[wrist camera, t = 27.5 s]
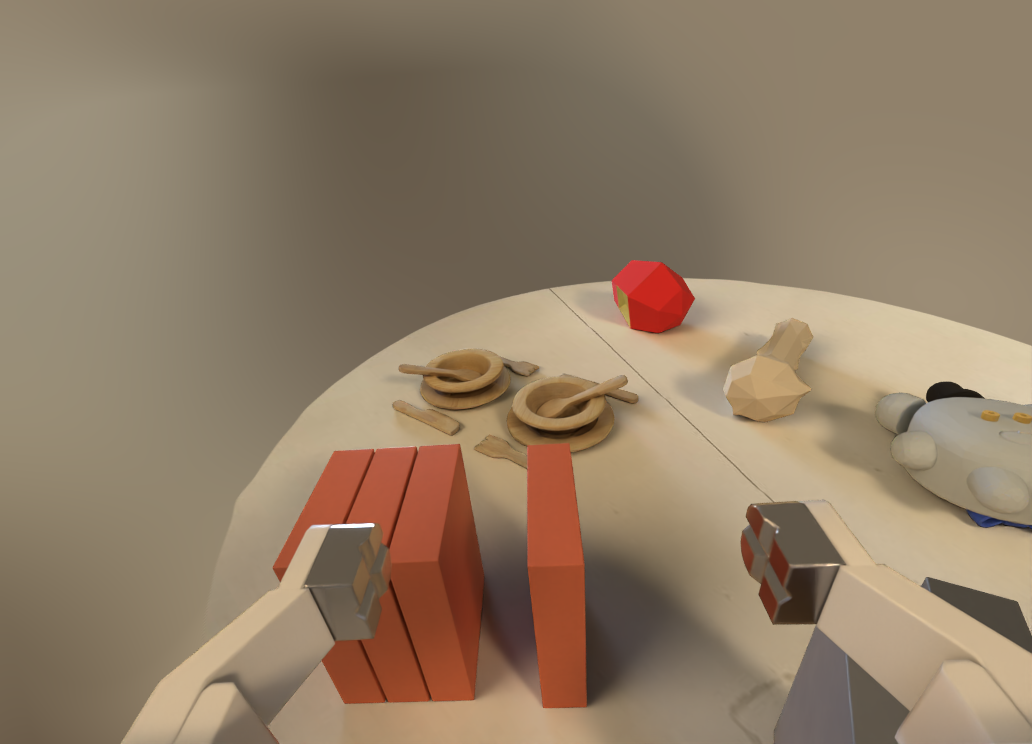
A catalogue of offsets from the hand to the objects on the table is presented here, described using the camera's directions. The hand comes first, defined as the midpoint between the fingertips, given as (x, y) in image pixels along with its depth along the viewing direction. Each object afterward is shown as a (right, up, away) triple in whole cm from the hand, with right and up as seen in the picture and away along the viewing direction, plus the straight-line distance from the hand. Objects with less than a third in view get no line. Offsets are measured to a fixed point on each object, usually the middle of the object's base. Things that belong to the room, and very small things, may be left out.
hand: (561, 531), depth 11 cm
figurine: (+45, -7, +37) cm, 58 cm away
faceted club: (+34, +2, +53) cm, 63 cm away
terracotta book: (+2, -17, +26) cm, 31 cm away
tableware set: (-2, -1, +54) cm, 54 cm away
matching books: (-9, -17, +27) cm, 34 cm away
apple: (+22, +12, +72) cm, 76 cm away
